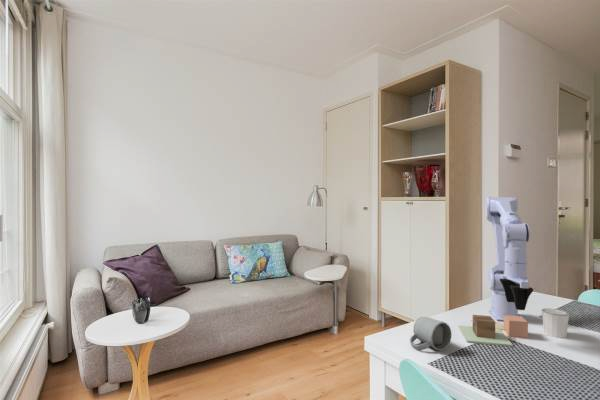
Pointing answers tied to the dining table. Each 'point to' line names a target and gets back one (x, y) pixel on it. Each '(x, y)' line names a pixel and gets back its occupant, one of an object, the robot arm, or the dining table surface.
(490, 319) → the walnut block
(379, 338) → the dining table surface
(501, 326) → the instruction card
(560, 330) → the white cup
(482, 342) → the plate
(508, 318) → the terracotta block
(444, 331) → the ceramic mug
